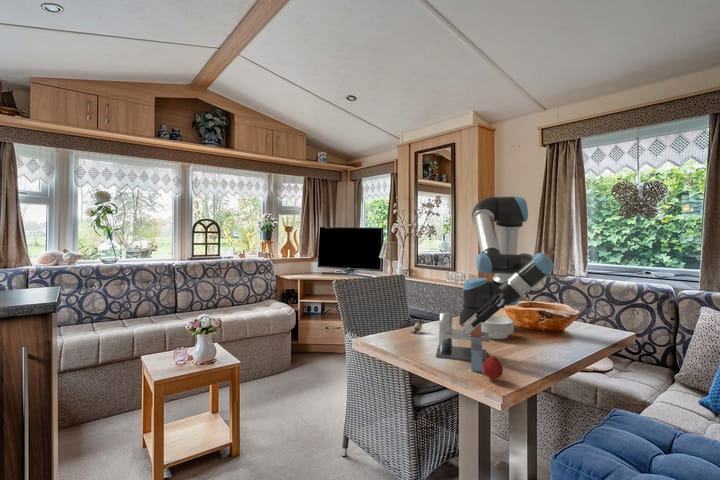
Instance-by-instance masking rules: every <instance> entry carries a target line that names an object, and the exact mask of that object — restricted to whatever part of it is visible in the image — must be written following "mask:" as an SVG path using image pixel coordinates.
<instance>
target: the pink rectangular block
mask: <svg viewBox="0 0 720 480" xmlns="http://www.w3.org/2000/svg"><path fill="white" fill-rule="evenodd" d="M471 321H472V320H471ZM481 332H482V331H481V324H480V325H478V326H477V327H476V328H475V329H474V330H473V331H471V335H470V336H479V337H482V336H481Z"/></svg>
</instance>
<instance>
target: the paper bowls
mask: <svg viewBox="0 0 720 480" xmlns="http://www.w3.org/2000/svg"><path fill="white" fill-rule="evenodd" d="M514 326H515V321H514V320H513V319H511V318H508V317H505V316H498V315H492V316H491V317H490V318H489V319H488V320H486V321H485V322H484V323H483V322H482V323H481V332H488V334H489V338H490V340H491V339H493V340H505V339H508V337H509V335H511V334H513V333H514V330H515V329H514V328H515V327H514Z"/></svg>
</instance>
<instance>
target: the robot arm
mask: <svg viewBox="0 0 720 480" xmlns="http://www.w3.org/2000/svg"><path fill="white" fill-rule="evenodd" d="M471 219H472V224H474V225H475V231H476V234H477V240H478V248H479V251H480V253H478V254H477V255H476V270H477V272H479V273H481V274H482V273H483V274H495V275H494V276H492V280H491V281H489V280H488V278H486V277H475V278H474V277H473V278H469V279H465V280H464V282H463V286H462V287H463V288H462V293H463V294H462V310H461V313H460V315H459V319H458V324H459V325H461V326H462V330H465V331H466V332H467V333H468V334H469V333H470V332H471V331H473V330H474V329H475V328H476V327H477V326H478V325H480V324H481V323H482V322H483V323H484V322H485V321H486V320H488V319H489V318H490V317H491V316H495V314H496V313H497V312H499V311H500V310H501V309H502V308H504V307H505V306H507V307H509V306H516V305H517V304H518V303H519V302H520V299H521V297H522V295H523V296H524V295H525V294H526V293H530V292H531V289H532V288H533V287H535V286H536V285H537V284H538V283H539V282H541V280H543V279H544V278H545V277H547V276H548V275H550V274H551V272H552V271H553V270H555V263H553V261H552V260H551V259H550V258H549V257H548V256H546V255H545V254H544V253H542V252H537V253H536V254H534V255H532V254H530V253H524V252H523V253H519V254H517V253H518V243H519V241H518V240H519V230H520V229H521V228H522V227H523V226H524V225H523V224H524V223H525V222H526V223H527V221H528V219H529V209H528V204H527V201H526V199H525V198H524V197H522V196H489V197H485V198H483V199H481V200H480V201H478V202H477V203H476V204H475V206H474V208H473V209H472V212H471ZM494 222H495V223H496V227H497V228H498V230H499V231H498V237H497V232H496V228H495V225H494ZM471 320H472V321H471Z"/></svg>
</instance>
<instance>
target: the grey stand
mask: <svg viewBox="0 0 720 480" xmlns="http://www.w3.org/2000/svg"><path fill="white" fill-rule="evenodd" d="M438 320H439V321H438V322H439V327H438V328H439V331H438V334H439V335H438V345H437V346H438V347H437V349H436V353H435V358H441V359H450V360H451V359H452V360H460V361H461V360H462V361H469V362H470V372H473V373H474V372H476V373H483V363H484V361H485V360H486V359H488V358H489V357H488V352H487V349H484V348H483V342H485V343H490V340H491V338H489V334H488V332H482V331H481V337H479V336H471V332H470V333H469V334H468V333H467V332H466V331H465V330H464V329H457V328H453V313H451V312H445V311H443V312H439V319H438ZM453 339H454V340H464V341H465V340H466V341H470V347H465V346H464V347H463V346H453Z"/></svg>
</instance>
